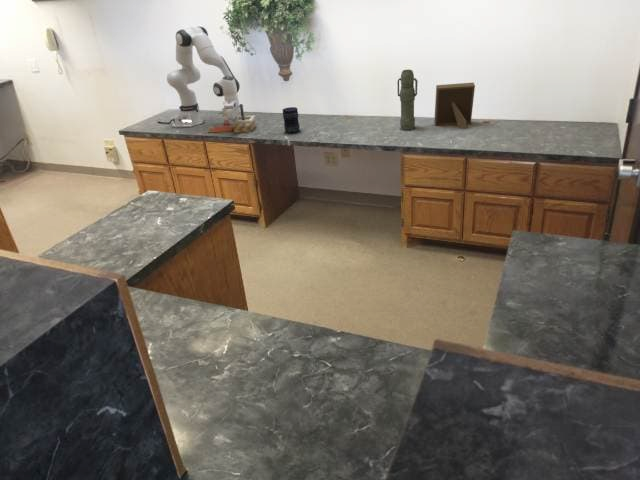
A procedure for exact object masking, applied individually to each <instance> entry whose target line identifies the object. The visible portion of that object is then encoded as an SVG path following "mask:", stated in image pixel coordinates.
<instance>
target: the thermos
mask: <svg viewBox="0 0 640 480" xmlns="http://www.w3.org/2000/svg"><path fill="white" fill-rule="evenodd" d="M418 82H419V81H418V79H417V78H416V77H415V75H414V71H413V70H412V69H403V70H402V71H401V75H400V77H399V78H398V79H397V96H398V97H399V101H400V119H399V122H400V123H399V124H400V125H399V126H400V130H402V131H413V130H415V124H416V118H415V100H416V96H417V95H418ZM414 84H415V85H414Z"/></svg>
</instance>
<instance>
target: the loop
mask: <svg viewBox="0 0 640 480" xmlns="http://www.w3.org/2000/svg"><path fill="white" fill-rule="evenodd" d="M244 117H245V120H243V121H242V117H241V115H240V116H237V121H236V124H249V123H252V122H253V121H255V120H256V115H244ZM236 124H235V125H236ZM230 125H234V124H233V121H231V124H230Z"/></svg>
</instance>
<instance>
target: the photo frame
mask: <svg viewBox="0 0 640 480" xmlns="http://www.w3.org/2000/svg"><path fill="white" fill-rule="evenodd" d="M475 88H476V84H475V82H462V83H461V82H460V83H448V84H447V83H445V84H437V85H436V86H435V103H434V104H435V105H434V119H433V120H434V121H433V123H434V126H435V127H437V126H438V127H439V126H453V125H454V126H455V125H457V127H458V129H467V125H469V124H472V117H473V109H474V107H473V106H474V99H475V90H476V89H475Z"/></svg>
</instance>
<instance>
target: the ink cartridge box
mask: <svg viewBox="0 0 640 480" xmlns="http://www.w3.org/2000/svg"><path fill="white" fill-rule="evenodd" d="M222 104H223V107H222V108H221V111H222V117H223V122H224V125H232V124H231V121H232V120H228V119H227V115H226V108H224V104H225V101H224V102H222Z"/></svg>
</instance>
